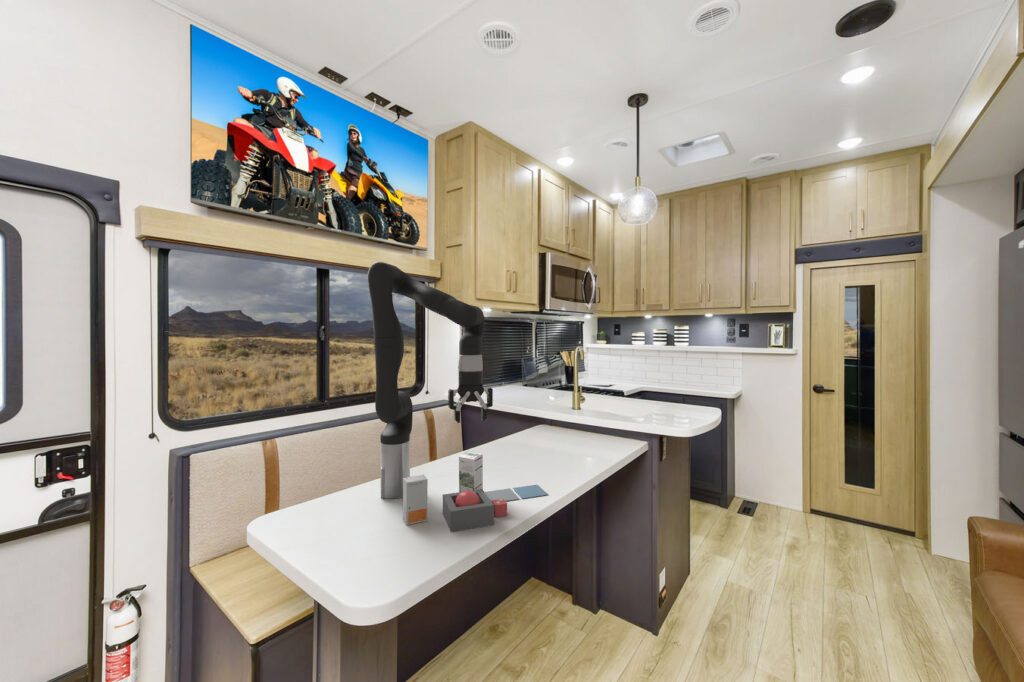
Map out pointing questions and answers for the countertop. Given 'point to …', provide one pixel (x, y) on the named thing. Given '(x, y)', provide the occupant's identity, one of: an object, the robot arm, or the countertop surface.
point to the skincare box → (415, 499)
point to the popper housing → (472, 512)
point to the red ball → (467, 499)
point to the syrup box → (470, 471)
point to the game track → (521, 491)
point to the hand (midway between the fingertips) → (470, 421)
